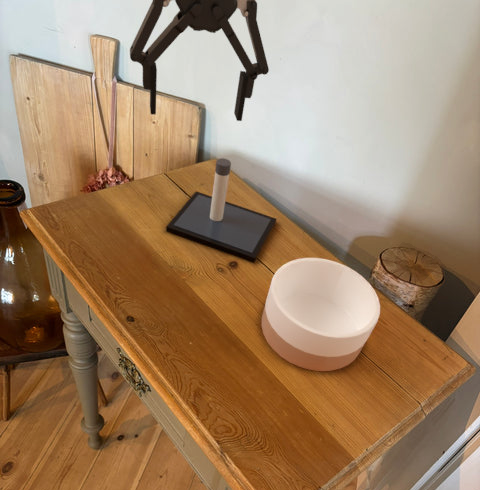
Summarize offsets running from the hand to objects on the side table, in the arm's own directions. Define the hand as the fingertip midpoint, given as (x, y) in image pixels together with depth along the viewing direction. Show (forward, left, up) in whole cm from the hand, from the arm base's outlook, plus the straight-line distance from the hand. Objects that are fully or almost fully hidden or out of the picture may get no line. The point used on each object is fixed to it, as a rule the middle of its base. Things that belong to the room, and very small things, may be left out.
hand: (196, 114), depth 73 cm
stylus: (+4, +4, -21) cm, 22 cm away
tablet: (+6, +4, -22) cm, 23 cm away
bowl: (+29, -14, -23) cm, 39 cm away
